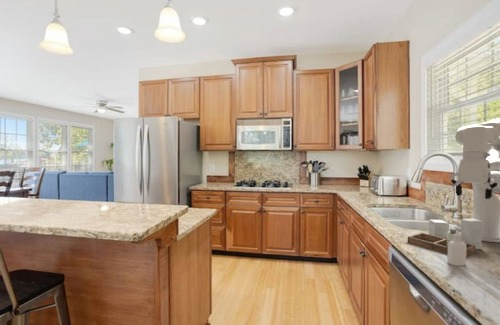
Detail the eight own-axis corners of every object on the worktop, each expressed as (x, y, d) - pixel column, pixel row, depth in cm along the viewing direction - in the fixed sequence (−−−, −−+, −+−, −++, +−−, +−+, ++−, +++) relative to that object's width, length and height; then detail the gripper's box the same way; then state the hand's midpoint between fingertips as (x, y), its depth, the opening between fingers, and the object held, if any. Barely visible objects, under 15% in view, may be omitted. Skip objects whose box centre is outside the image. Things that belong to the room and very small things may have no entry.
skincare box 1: (428, 233, 130) (428, 219, 129) (441, 234, 129) (442, 219, 128) (434, 237, 124) (435, 222, 123) (449, 238, 123) (449, 223, 122)
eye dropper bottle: (445, 260, 98) (446, 228, 97) (464, 263, 95) (465, 230, 95) (448, 264, 94) (449, 231, 93) (468, 267, 91) (469, 234, 91)
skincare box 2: (471, 245, 113) (472, 218, 113) (481, 249, 109) (482, 220, 109) (459, 246, 112) (460, 218, 112) (469, 249, 108) (470, 221, 108)
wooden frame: (421, 237, 123) (421, 232, 123) (475, 252, 106) (475, 246, 106) (407, 242, 117) (407, 236, 117) (462, 258, 100) (462, 251, 100)
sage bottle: (449, 247, 110) (450, 227, 110) (462, 251, 107) (462, 230, 106) (444, 249, 108) (445, 228, 108) (457, 253, 104) (457, 231, 104)
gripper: (505, 156, 103) (504, 199, 104) (453, 155, 118) (452, 193, 119) (498, 156, 99) (496, 201, 100) (445, 155, 114) (444, 194, 115)
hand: (472, 196), depth 109 cm, fingers open, 9 cm apart
